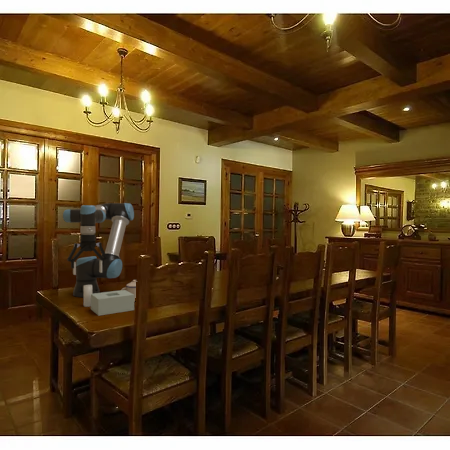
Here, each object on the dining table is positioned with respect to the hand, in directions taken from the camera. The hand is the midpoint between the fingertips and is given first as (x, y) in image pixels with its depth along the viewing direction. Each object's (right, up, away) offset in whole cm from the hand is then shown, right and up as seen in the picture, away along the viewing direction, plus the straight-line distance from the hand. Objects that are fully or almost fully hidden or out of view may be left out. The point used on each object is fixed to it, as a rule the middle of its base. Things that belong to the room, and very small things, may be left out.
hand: (87, 273), depth 183 cm
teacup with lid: (+20, -18, +14) cm, 30 cm away
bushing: (0, -18, +1) cm, 18 cm away
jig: (+15, -18, -7) cm, 25 cm away
